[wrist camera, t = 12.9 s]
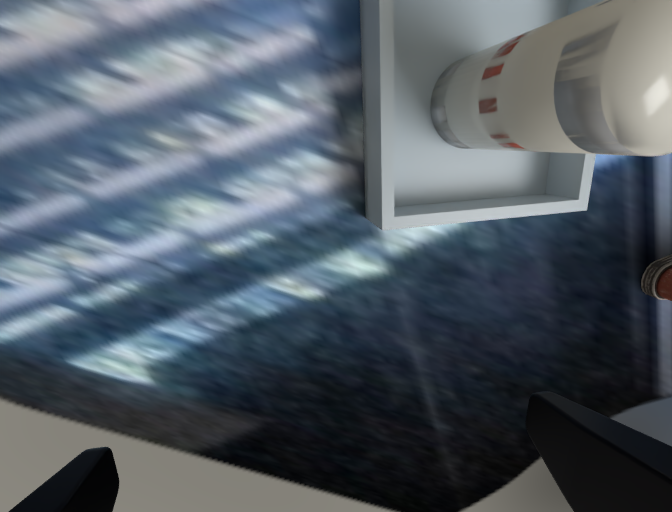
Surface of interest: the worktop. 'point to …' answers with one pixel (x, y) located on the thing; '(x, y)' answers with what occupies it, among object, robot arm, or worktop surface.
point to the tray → (420, 134)
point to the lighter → (658, 279)
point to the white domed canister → (567, 86)
